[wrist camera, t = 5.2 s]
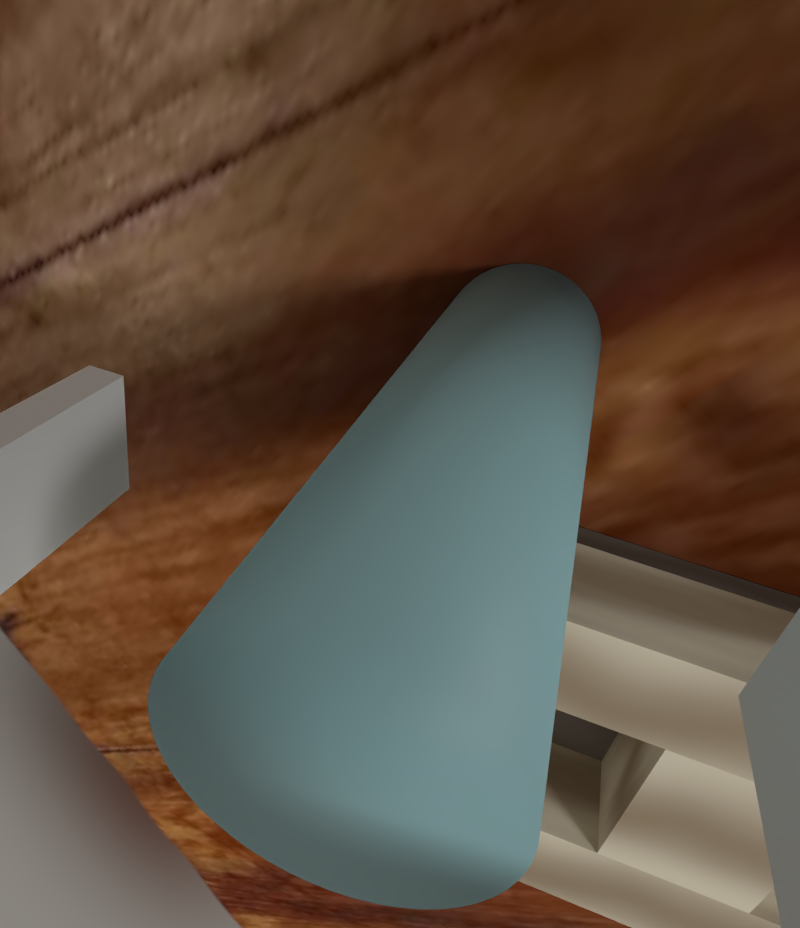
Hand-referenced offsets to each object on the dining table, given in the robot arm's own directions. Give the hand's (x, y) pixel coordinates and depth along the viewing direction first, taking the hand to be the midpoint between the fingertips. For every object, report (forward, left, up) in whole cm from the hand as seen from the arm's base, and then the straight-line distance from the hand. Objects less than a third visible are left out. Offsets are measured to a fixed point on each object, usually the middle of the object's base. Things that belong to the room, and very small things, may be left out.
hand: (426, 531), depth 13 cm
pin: (0, 0, -11) cm, 11 cm away
